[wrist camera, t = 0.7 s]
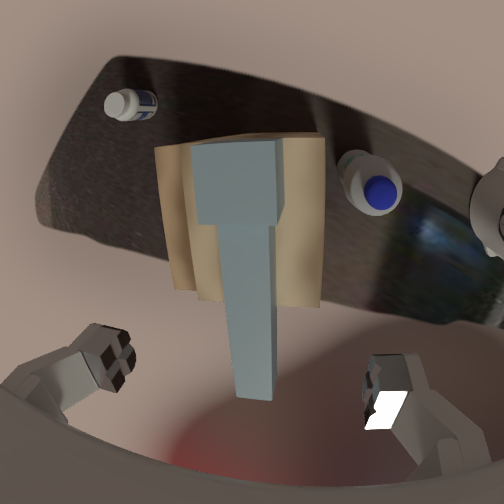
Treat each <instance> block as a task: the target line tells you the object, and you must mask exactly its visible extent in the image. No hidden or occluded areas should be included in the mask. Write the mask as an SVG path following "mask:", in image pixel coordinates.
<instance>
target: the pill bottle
mask: <svg viewBox="0 0 504 504" xmlns="http://www.w3.org/2000/svg"><path fill="white" fill-rule="evenodd" d="M157 106H158V101H157V98H156V96H155V95H154V94H153V93H152V92H150V91H144V90H134V89H122V90H120V91H118V92H114V93H111V94H110V95H109V96H108V97H107V98H106V100H105V103H104V110H105V112H106V114H107V115H108V116H110V117H115V118H116V119H117V120H120V121H132V120H145V119H148V118H150V117H152V116H153V115H154V114H155V112H156V110H157Z"/></svg>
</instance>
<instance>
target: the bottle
mask: <svg viewBox="0 0 504 504" xmlns="http://www.w3.org/2000/svg"><path fill="white" fill-rule="evenodd" d="M337 171H338V176H339V179H340V180H341V182H342V183H343V187H344V191H345V194H346V196H347V198H348V200H349V201H350V202H351V204H353V205H354V206H355V207H356V208H358V209H359V210H361V211H362V212H364V213H366V214H368V215H372V216H379V215H384V214H387V213H389V212H390V211H392V210H393V209H394V208H395V207H396V206H397V204H398V203H399V201H400V199H401V195H402V182H401V179H400V177H399V175H398V173H397V172H396V170H395V169H394V167H393V166H392V165H391V164H390V163H389V162H388V161H387V160H386V159H384V158H382V157H379V156H375V155H371V154H369V153H368V152H366V151H363V150H350V151H348V152H346V153H345V154H344V155H343V156H342V157H341V158H340V160H339V162H338V167H337Z"/></svg>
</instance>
